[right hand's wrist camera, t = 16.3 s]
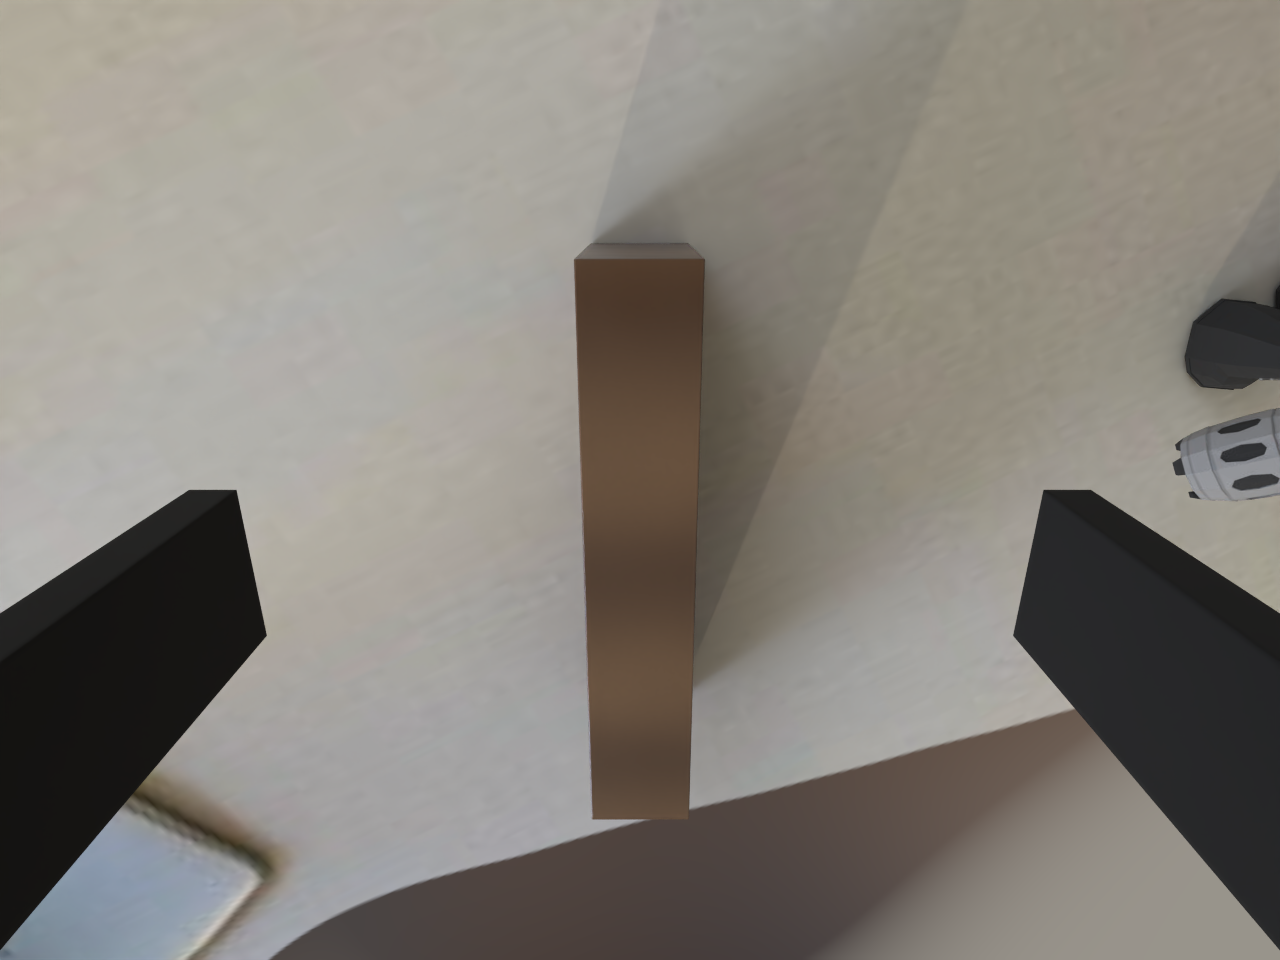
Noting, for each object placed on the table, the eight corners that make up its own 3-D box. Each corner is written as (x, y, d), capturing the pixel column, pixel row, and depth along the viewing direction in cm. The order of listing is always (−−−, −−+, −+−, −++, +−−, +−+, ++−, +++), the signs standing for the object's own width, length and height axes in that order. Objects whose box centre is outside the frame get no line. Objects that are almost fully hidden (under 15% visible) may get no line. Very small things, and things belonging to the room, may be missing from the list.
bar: (590, 243, 34) (573, 258, 25) (688, 243, 34) (704, 258, 25) (601, 698, 43) (591, 819, 34) (679, 698, 43) (689, 819, 34)
